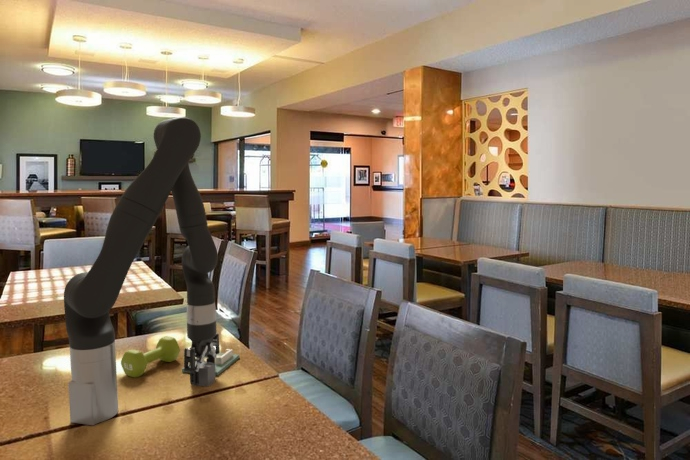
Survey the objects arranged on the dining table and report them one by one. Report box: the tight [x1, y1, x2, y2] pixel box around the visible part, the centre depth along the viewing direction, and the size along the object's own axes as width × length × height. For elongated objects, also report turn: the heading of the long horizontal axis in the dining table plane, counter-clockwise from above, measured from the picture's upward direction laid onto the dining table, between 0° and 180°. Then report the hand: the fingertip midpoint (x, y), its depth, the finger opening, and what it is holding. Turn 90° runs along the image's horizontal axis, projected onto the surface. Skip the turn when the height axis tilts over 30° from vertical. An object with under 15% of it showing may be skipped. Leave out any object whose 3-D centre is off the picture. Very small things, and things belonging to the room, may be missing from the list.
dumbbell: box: [120, 335, 181, 378], centre depth 140 cm, size 16×8×7 cm, turn 154°
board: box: [181, 348, 241, 377], centre depth 143 cm, size 14×11×3 cm
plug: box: [195, 362, 216, 388], centre depth 130 cm, size 4×6×5 cm
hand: (203, 377), depth 130 cm, fingers open, 8 cm apart
